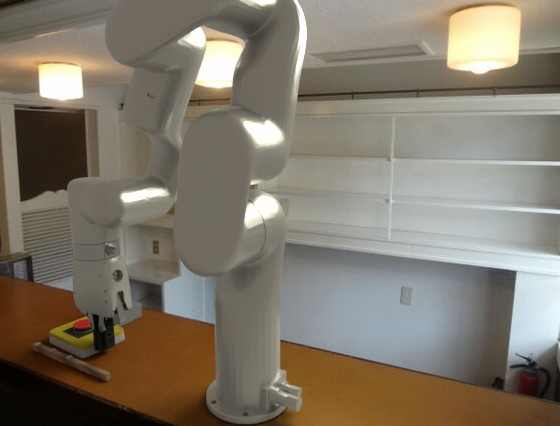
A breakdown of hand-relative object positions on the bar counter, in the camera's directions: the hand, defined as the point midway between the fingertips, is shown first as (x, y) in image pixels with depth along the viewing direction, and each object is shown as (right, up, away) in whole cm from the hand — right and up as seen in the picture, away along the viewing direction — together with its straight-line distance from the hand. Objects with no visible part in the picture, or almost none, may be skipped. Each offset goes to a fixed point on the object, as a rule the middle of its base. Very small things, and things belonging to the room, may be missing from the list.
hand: (105, 347), depth 79 cm
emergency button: (-5, -1, +5) cm, 7 cm away
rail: (-5, -2, -3) cm, 6 cm away
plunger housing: (-4, +2, +14) cm, 15 cm away
